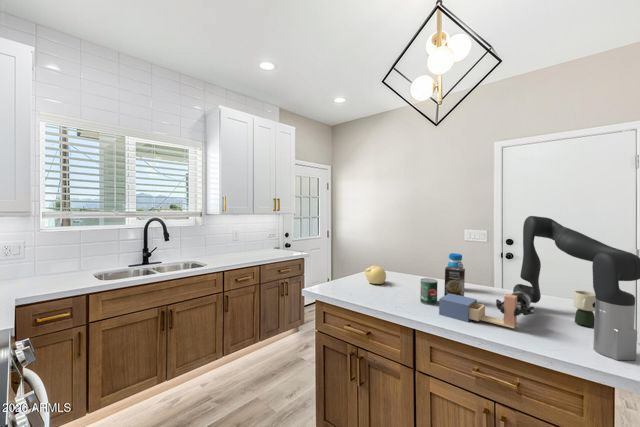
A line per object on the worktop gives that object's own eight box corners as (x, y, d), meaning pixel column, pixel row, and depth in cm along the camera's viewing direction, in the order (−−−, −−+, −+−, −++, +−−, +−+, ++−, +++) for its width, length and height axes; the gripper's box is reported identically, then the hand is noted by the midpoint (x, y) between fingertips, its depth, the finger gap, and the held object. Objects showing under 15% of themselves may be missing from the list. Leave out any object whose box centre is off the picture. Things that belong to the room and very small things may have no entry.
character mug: (596, 331, 114) (597, 298, 113) (571, 326, 119) (572, 294, 118) (597, 323, 121) (598, 292, 121) (574, 318, 126) (575, 288, 126)
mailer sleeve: (476, 314, 131) (476, 299, 130) (468, 322, 123) (468, 305, 123) (448, 308, 139) (449, 293, 139) (439, 314, 131) (439, 298, 131)
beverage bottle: (447, 290, 166) (448, 255, 166) (446, 286, 175) (446, 252, 174) (464, 292, 164) (464, 255, 163) (461, 287, 172) (462, 253, 171)
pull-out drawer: (517, 323, 119) (518, 294, 118) (512, 329, 113) (513, 299, 112) (458, 309, 135) (459, 283, 134) (451, 314, 129) (451, 287, 128)
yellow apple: (374, 279, 190) (374, 262, 190) (389, 283, 181) (389, 266, 180) (362, 282, 183) (362, 265, 183) (377, 287, 174) (377, 268, 173)
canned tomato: (422, 298, 153) (422, 277, 152) (438, 301, 149) (438, 279, 148) (418, 303, 146) (418, 281, 145) (435, 306, 142) (436, 283, 141)
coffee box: (443, 300, 150) (444, 268, 149) (445, 296, 156) (445, 266, 155) (463, 303, 146) (464, 270, 145) (464, 299, 151) (465, 268, 151)
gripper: (499, 289, 132) (488, 298, 120) (539, 296, 122) (531, 307, 110) (499, 306, 132) (488, 317, 120) (538, 314, 122) (530, 327, 110)
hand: (508, 312), depth 115 cm, fingers closed on pull-out drawer, 3 cm apart
